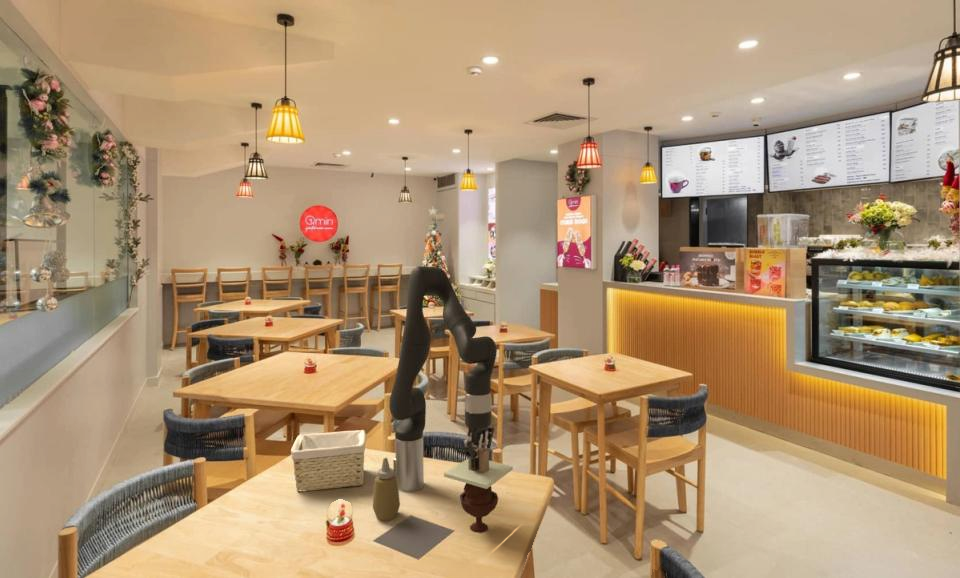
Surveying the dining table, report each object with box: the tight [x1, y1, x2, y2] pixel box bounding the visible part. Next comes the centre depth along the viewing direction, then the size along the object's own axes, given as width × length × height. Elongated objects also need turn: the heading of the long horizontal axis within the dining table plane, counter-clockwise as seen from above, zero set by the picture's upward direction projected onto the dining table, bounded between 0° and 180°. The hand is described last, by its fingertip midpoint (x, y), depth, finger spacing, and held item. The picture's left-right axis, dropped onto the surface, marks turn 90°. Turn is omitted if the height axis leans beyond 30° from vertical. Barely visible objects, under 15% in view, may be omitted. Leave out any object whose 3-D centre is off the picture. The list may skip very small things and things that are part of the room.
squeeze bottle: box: [372, 457, 401, 522], centre depth 154 cm, size 8×8×18 cm
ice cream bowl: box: [459, 483, 499, 534], centre depth 147 cm, size 11×11×15 cm
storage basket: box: [290, 429, 367, 492], centre depth 179 cm, size 24×16×15 cm
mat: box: [372, 514, 455, 561], centre depth 144 cm, size 16×16×1 cm
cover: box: [443, 447, 513, 489], centre depth 146 cm, size 14×14×7 cm
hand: (478, 467), depth 147 cm, fingers closed on cover, 3 cm apart
